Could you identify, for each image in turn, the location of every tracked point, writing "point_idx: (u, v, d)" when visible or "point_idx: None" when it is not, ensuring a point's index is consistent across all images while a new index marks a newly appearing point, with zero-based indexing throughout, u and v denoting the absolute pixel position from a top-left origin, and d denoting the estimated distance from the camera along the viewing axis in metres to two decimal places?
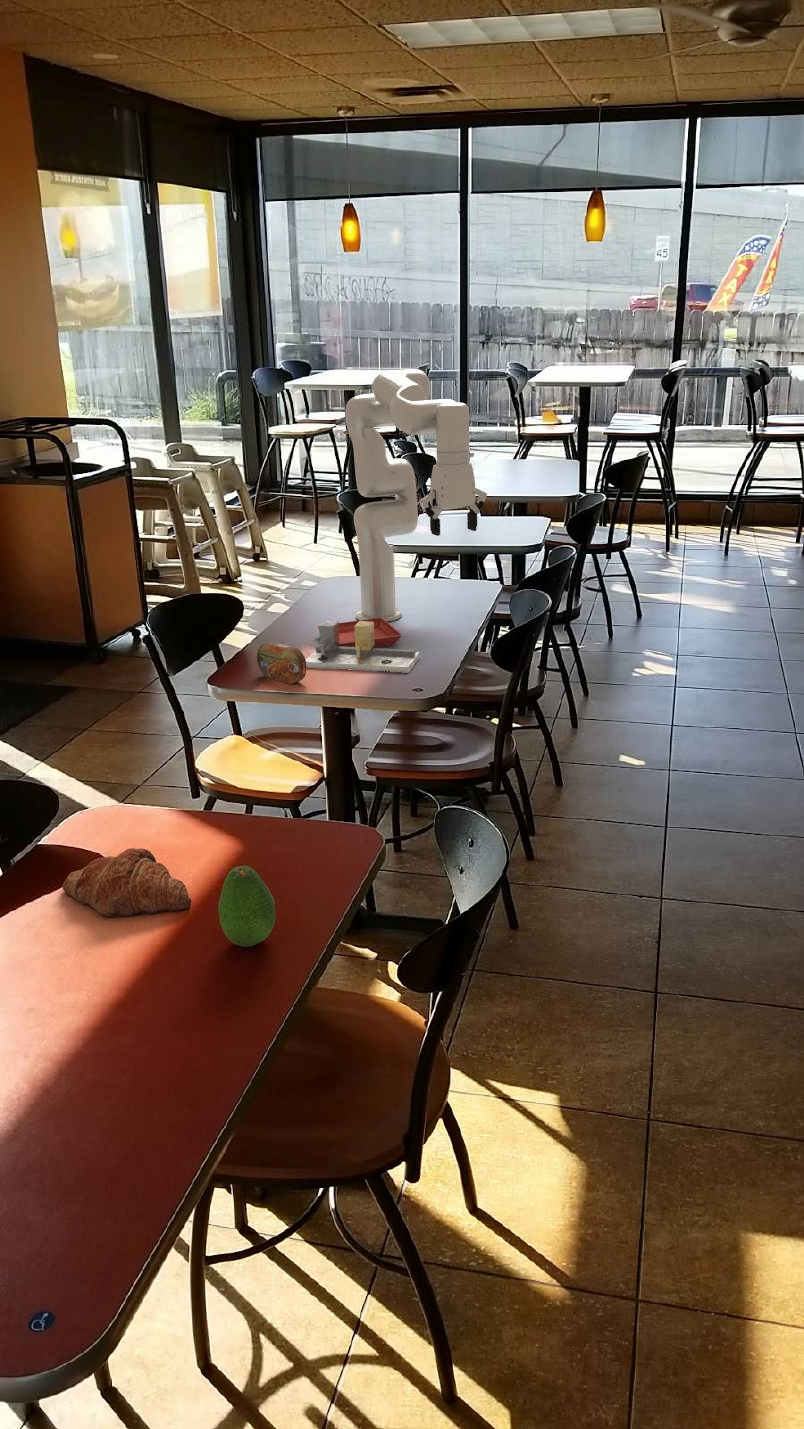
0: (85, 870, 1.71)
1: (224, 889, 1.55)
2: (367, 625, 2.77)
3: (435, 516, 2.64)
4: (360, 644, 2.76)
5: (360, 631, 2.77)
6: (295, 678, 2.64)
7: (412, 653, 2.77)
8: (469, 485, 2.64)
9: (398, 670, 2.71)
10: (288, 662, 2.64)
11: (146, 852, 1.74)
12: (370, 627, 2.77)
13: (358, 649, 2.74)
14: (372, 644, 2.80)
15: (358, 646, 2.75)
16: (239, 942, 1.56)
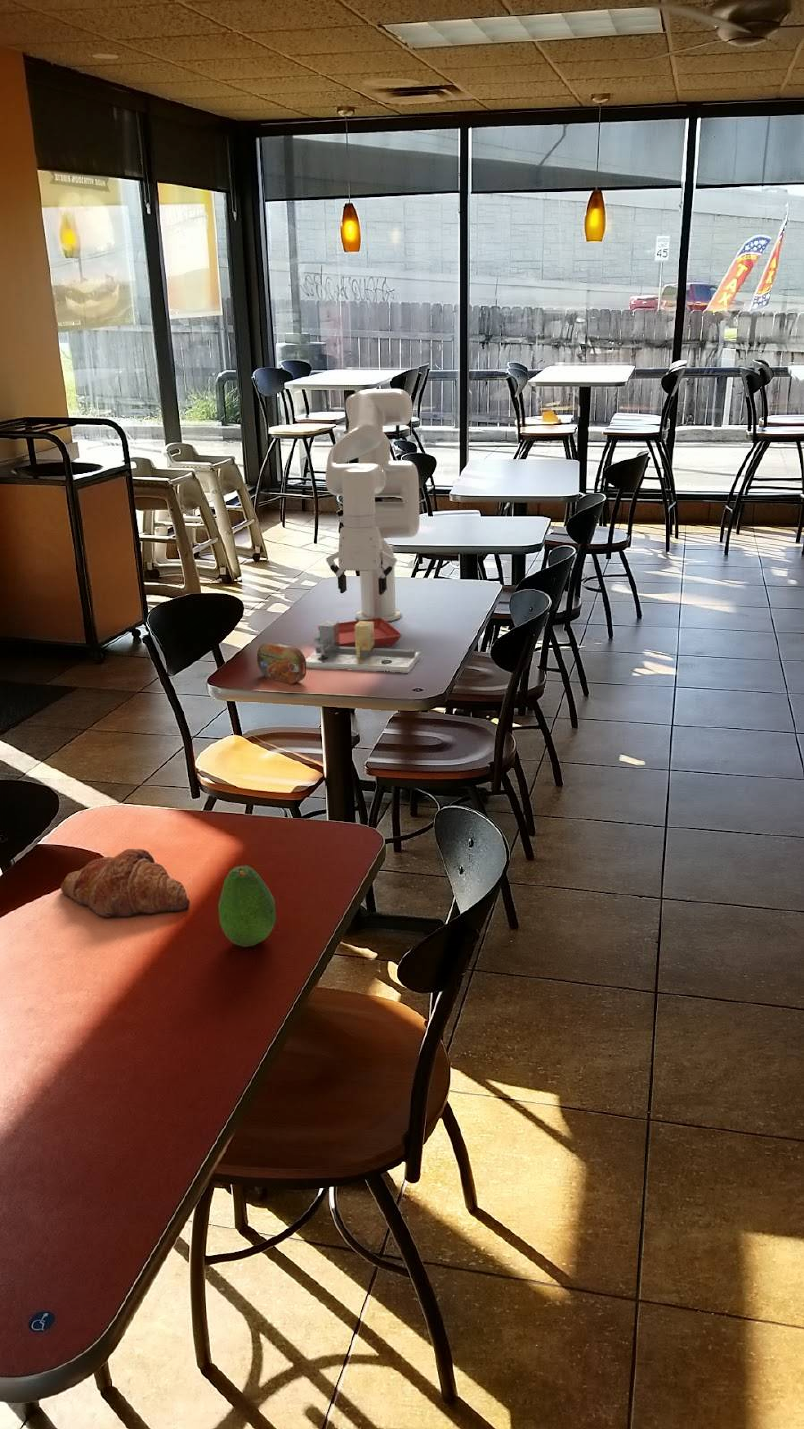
0: (83, 871, 1.71)
1: (224, 889, 1.55)
2: (367, 625, 2.77)
3: None
4: (360, 644, 2.76)
5: (360, 631, 2.77)
6: (295, 678, 2.64)
7: (412, 653, 2.77)
8: None
9: (398, 670, 2.71)
10: (288, 662, 2.64)
11: (145, 853, 1.74)
12: (370, 627, 2.77)
13: (358, 649, 2.74)
14: (372, 644, 2.80)
15: (358, 646, 2.75)
16: (239, 942, 1.56)
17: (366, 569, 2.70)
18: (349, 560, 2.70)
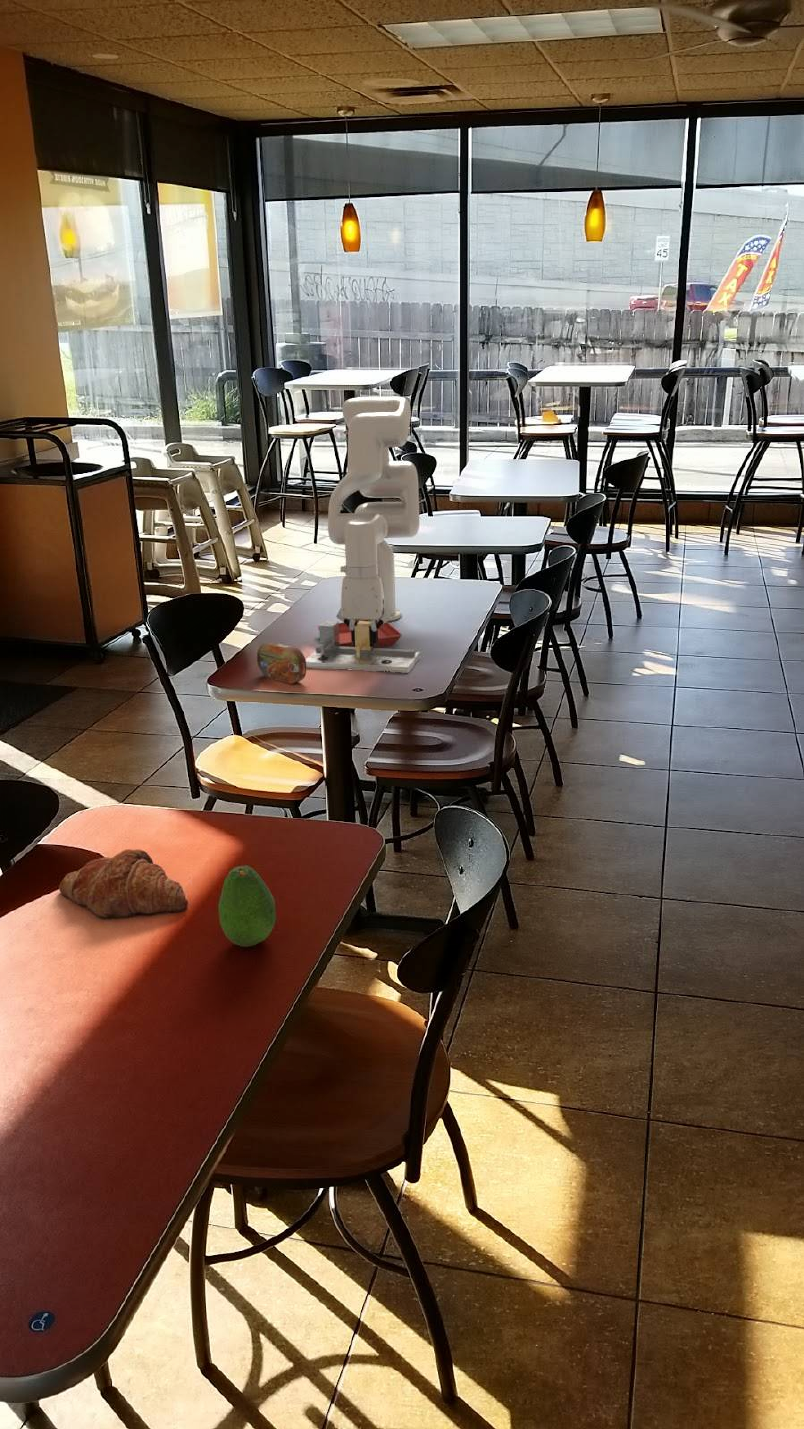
0: (81, 871, 1.71)
1: (224, 889, 1.55)
2: (367, 625, 2.77)
3: None
4: (360, 644, 2.76)
5: (360, 631, 2.77)
6: (295, 678, 2.64)
7: (412, 653, 2.77)
8: None
9: (398, 670, 2.71)
10: (288, 662, 2.64)
11: (143, 853, 1.74)
12: (370, 627, 2.77)
13: (358, 649, 2.74)
14: None
15: (358, 646, 2.75)
16: (239, 942, 1.56)
17: (368, 618, 2.75)
18: (351, 609, 2.75)
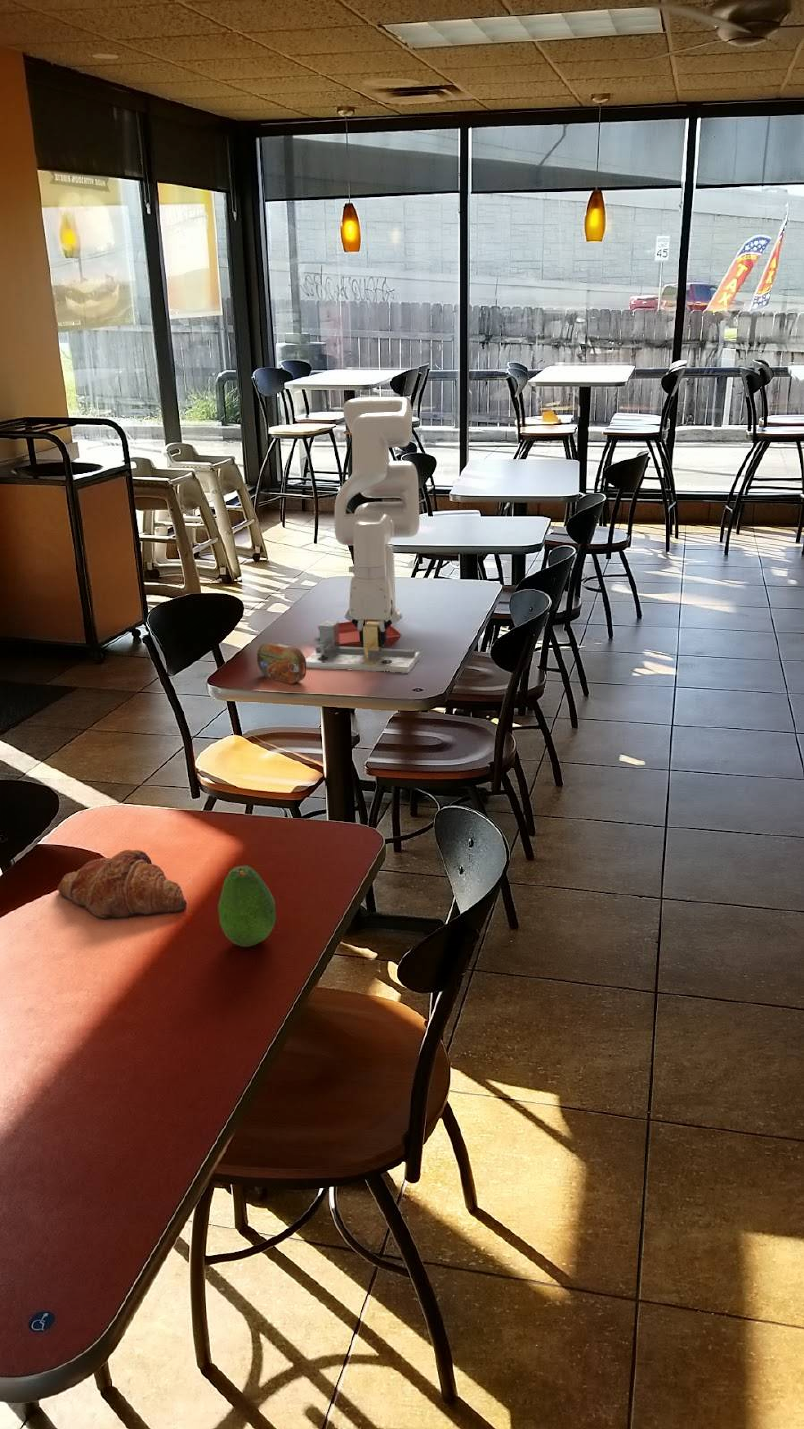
0: (80, 872, 1.71)
1: (224, 889, 1.55)
2: (375, 625, 2.76)
3: None
4: (368, 644, 2.76)
5: (368, 631, 2.76)
6: (295, 678, 2.64)
7: (412, 653, 2.77)
8: None
9: (398, 670, 2.71)
10: (288, 662, 2.64)
11: (142, 854, 1.74)
12: (378, 627, 2.77)
13: (366, 649, 2.74)
14: None
15: (366, 646, 2.74)
16: (239, 942, 1.56)
17: (377, 619, 2.74)
18: (360, 610, 2.74)
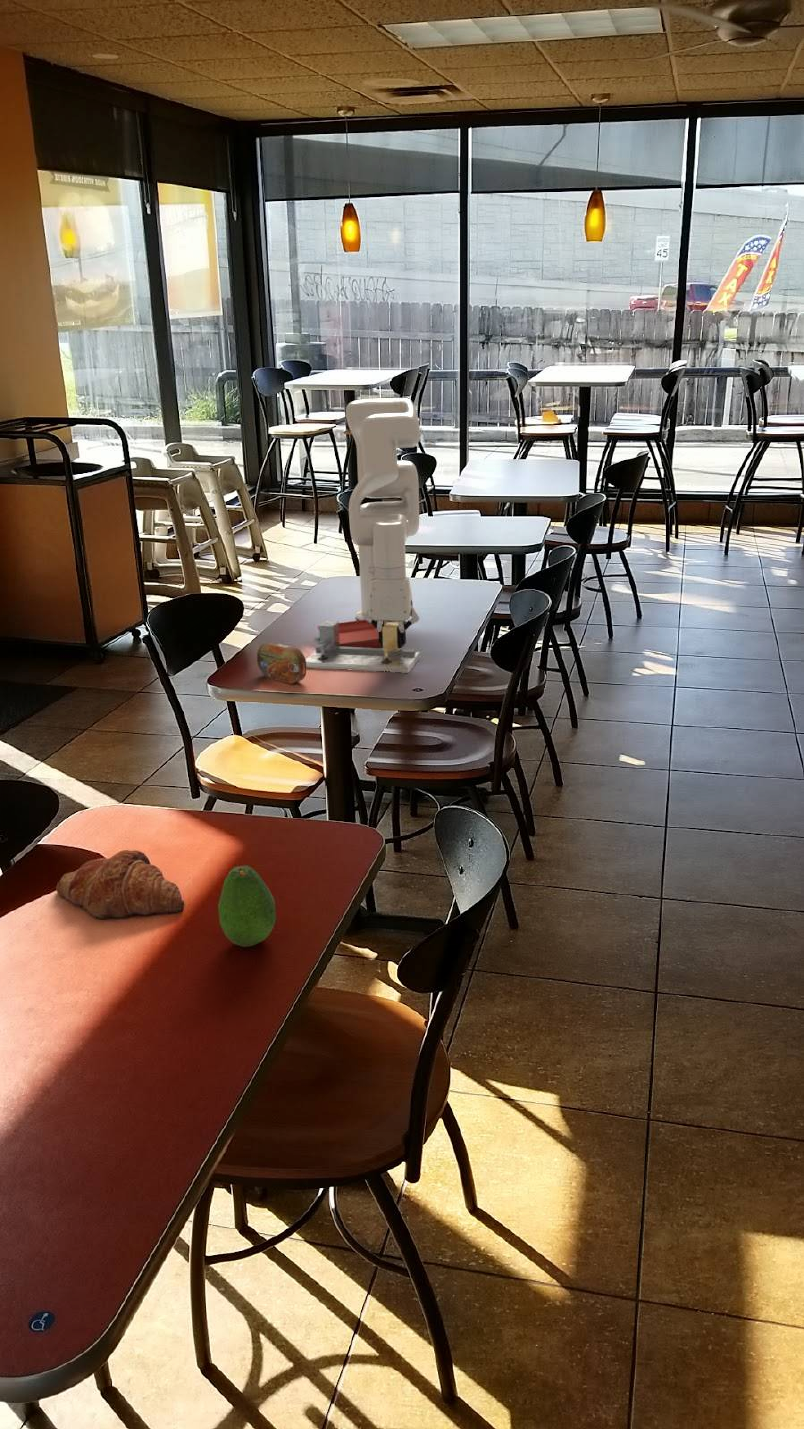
0: (78, 872, 1.71)
1: (224, 889, 1.55)
2: (395, 626, 2.75)
3: None
4: (388, 645, 2.74)
5: (388, 632, 2.75)
6: (295, 678, 2.64)
7: (412, 653, 2.77)
8: None
9: (398, 670, 2.71)
10: (288, 662, 2.64)
11: (140, 854, 1.74)
12: (398, 628, 2.76)
13: (386, 650, 2.72)
14: None
15: (386, 647, 2.73)
16: (239, 942, 1.56)
17: (396, 619, 2.73)
18: (379, 610, 2.73)
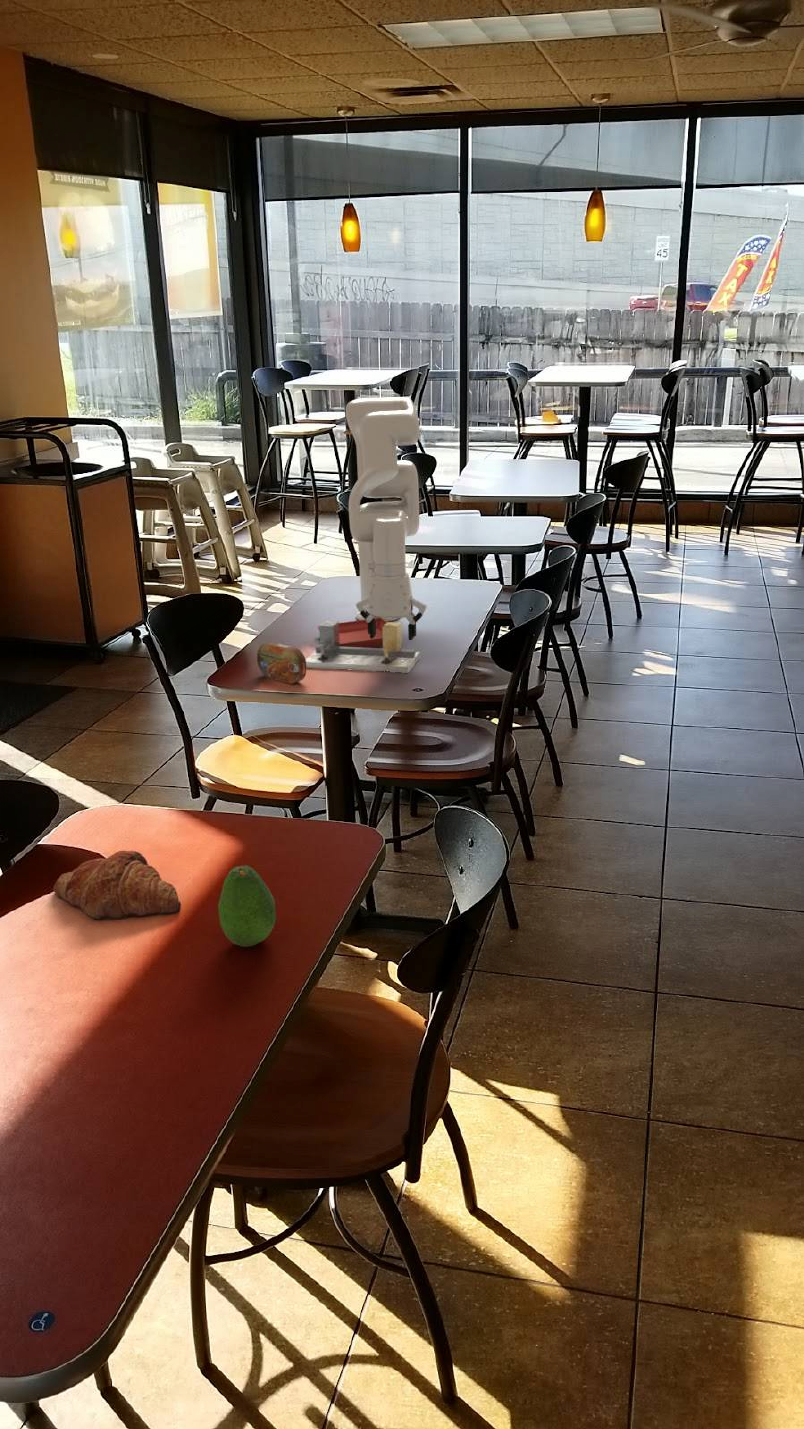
0: (75, 872, 1.70)
1: (224, 889, 1.55)
2: (395, 626, 2.75)
3: None
4: (388, 645, 2.74)
5: (388, 632, 2.75)
6: (295, 678, 2.64)
7: (412, 653, 2.77)
8: None
9: (398, 670, 2.71)
10: (288, 662, 2.64)
11: (137, 855, 1.74)
12: (398, 628, 2.76)
13: (386, 650, 2.72)
14: (400, 645, 2.78)
15: (386, 647, 2.73)
16: (239, 942, 1.56)
17: (396, 616, 2.73)
18: (379, 607, 2.73)
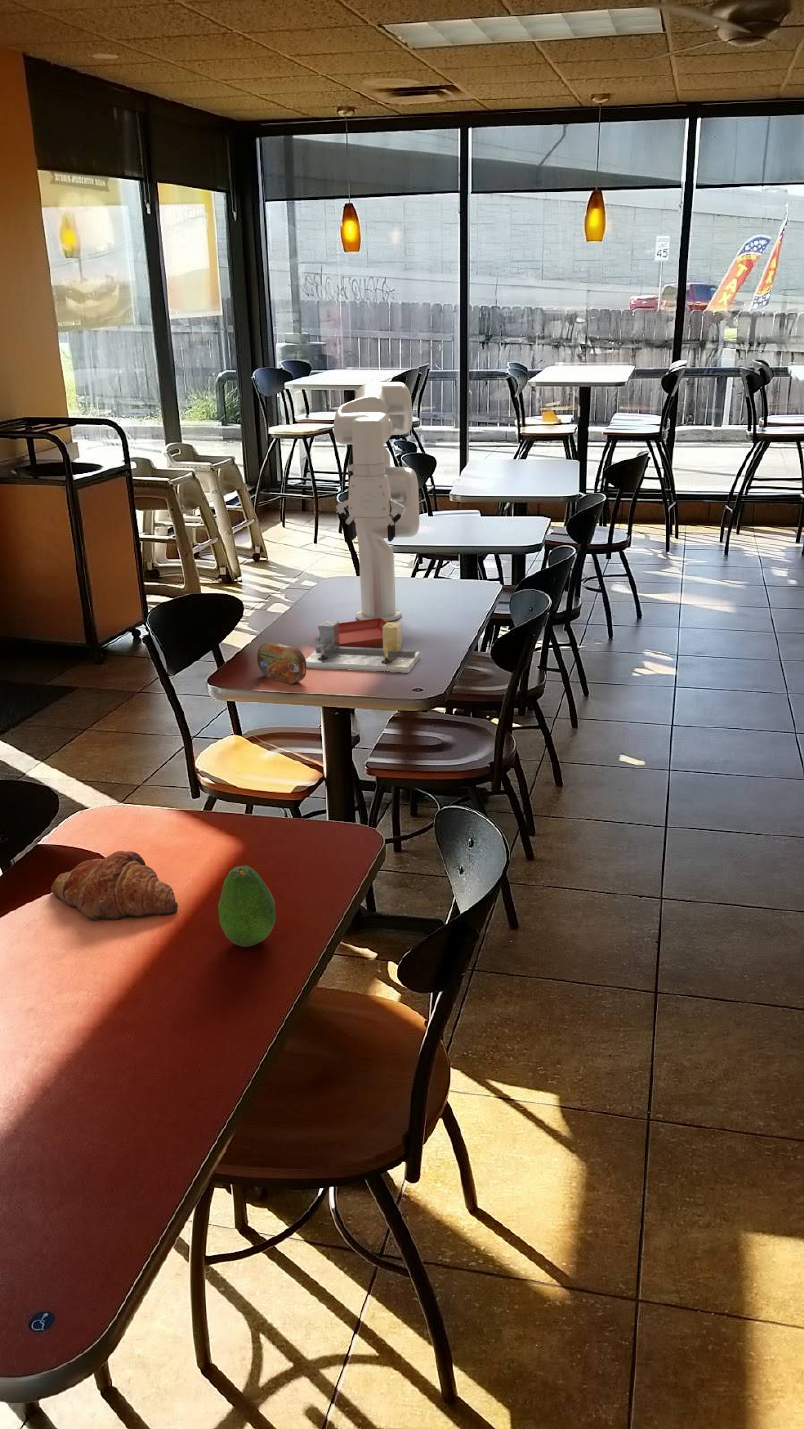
0: (73, 872, 1.70)
1: (224, 889, 1.55)
2: (395, 626, 2.75)
3: None
4: (388, 645, 2.74)
5: (388, 632, 2.75)
6: (295, 678, 2.64)
7: (412, 653, 2.77)
8: None
9: (398, 670, 2.71)
10: (288, 662, 2.64)
11: (135, 855, 1.74)
12: (398, 628, 2.76)
13: (386, 650, 2.72)
14: (400, 645, 2.78)
15: (386, 647, 2.73)
16: (239, 942, 1.56)
17: (375, 517, 2.77)
18: (359, 508, 2.78)
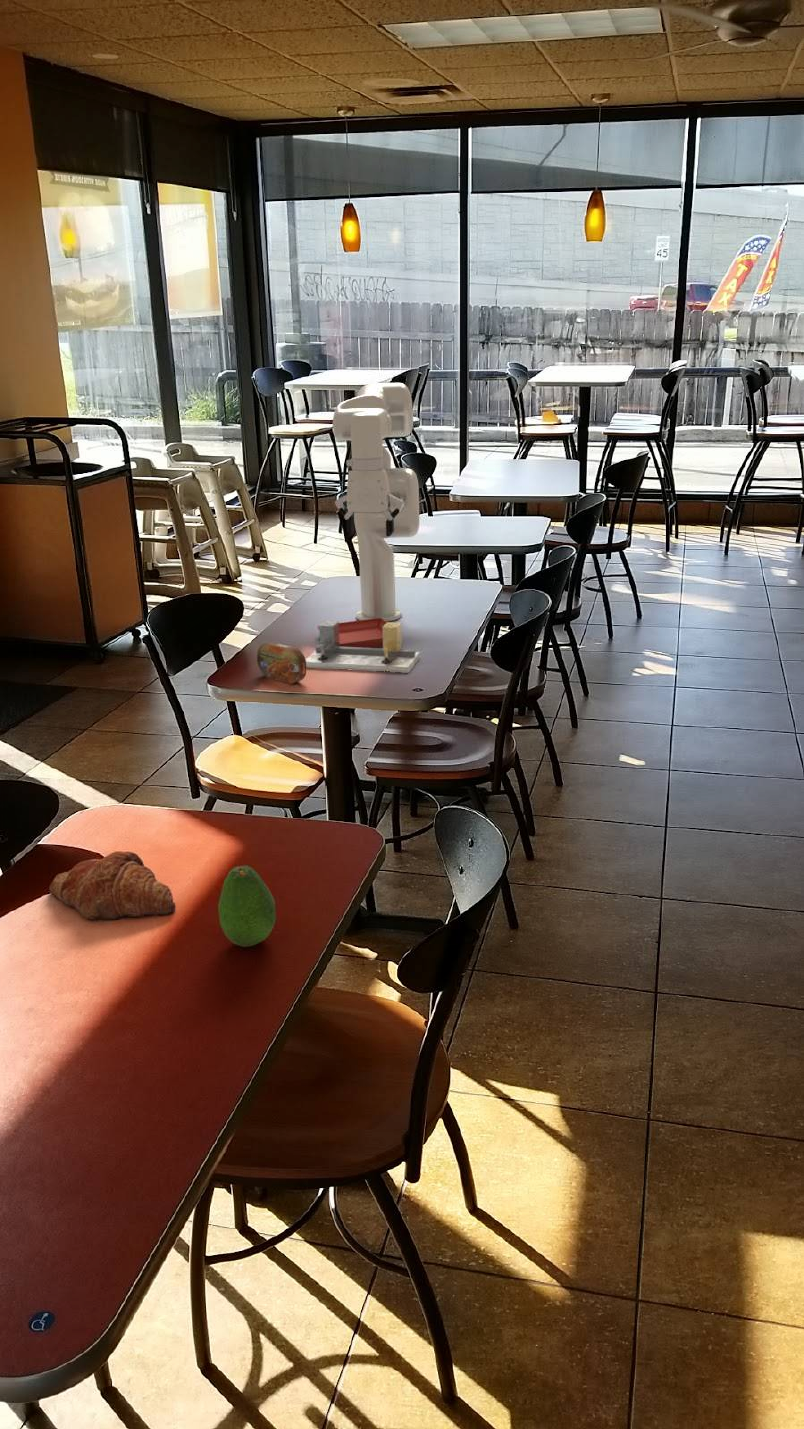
0: (71, 872, 1.70)
1: (224, 889, 1.55)
2: (395, 626, 2.75)
3: None
4: (388, 645, 2.74)
5: (388, 632, 2.75)
6: (295, 678, 2.64)
7: (412, 653, 2.77)
8: None
9: (398, 670, 2.71)
10: (288, 662, 2.64)
11: (133, 855, 1.74)
12: (398, 628, 2.76)
13: (386, 650, 2.72)
14: (400, 645, 2.78)
15: (386, 647, 2.73)
16: (239, 942, 1.56)
17: (374, 511, 2.78)
18: (357, 503, 2.78)
